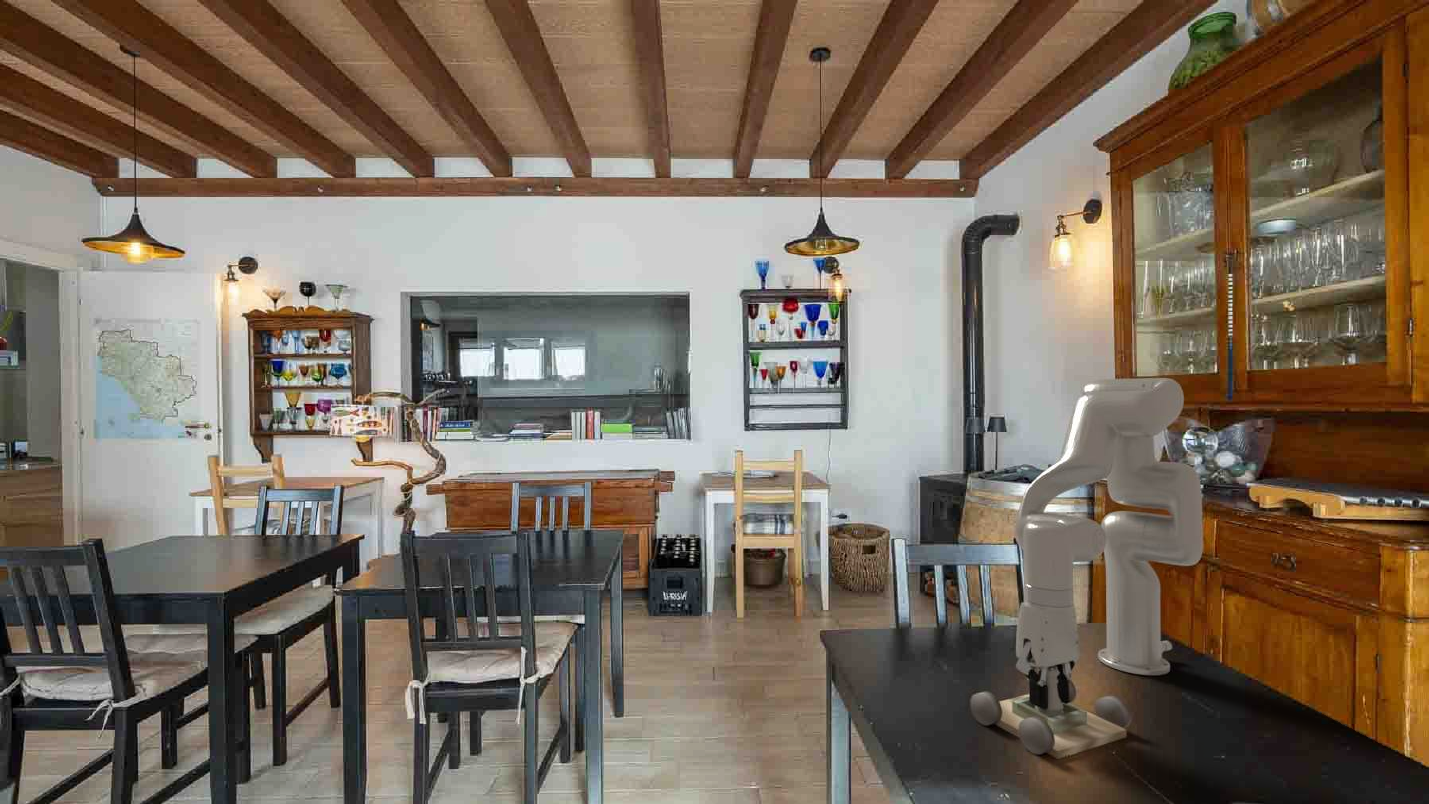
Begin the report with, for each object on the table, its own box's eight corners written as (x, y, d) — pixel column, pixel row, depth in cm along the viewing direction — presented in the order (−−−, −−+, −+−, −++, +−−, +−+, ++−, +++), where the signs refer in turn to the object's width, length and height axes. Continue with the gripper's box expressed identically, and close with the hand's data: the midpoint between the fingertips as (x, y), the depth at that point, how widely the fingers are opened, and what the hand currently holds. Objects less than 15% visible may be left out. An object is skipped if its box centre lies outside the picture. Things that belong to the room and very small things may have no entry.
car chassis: (1049, 695, 122) (1049, 668, 122) (1134, 734, 108) (1134, 703, 108) (968, 716, 114) (968, 687, 114) (1048, 762, 99) (1048, 729, 99)
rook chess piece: (1068, 720, 108) (1067, 671, 108) (1038, 717, 109) (1038, 669, 109) (1059, 707, 113) (1059, 661, 113) (1031, 705, 114) (1031, 659, 114)
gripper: (1063, 583, 118) (1064, 685, 118) (993, 595, 111) (994, 703, 111) (1102, 594, 111) (1103, 702, 111) (1031, 608, 104) (1032, 723, 104)
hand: (1049, 702), depth 111 cm, fingers closed on rook chess piece, 4 cm apart
